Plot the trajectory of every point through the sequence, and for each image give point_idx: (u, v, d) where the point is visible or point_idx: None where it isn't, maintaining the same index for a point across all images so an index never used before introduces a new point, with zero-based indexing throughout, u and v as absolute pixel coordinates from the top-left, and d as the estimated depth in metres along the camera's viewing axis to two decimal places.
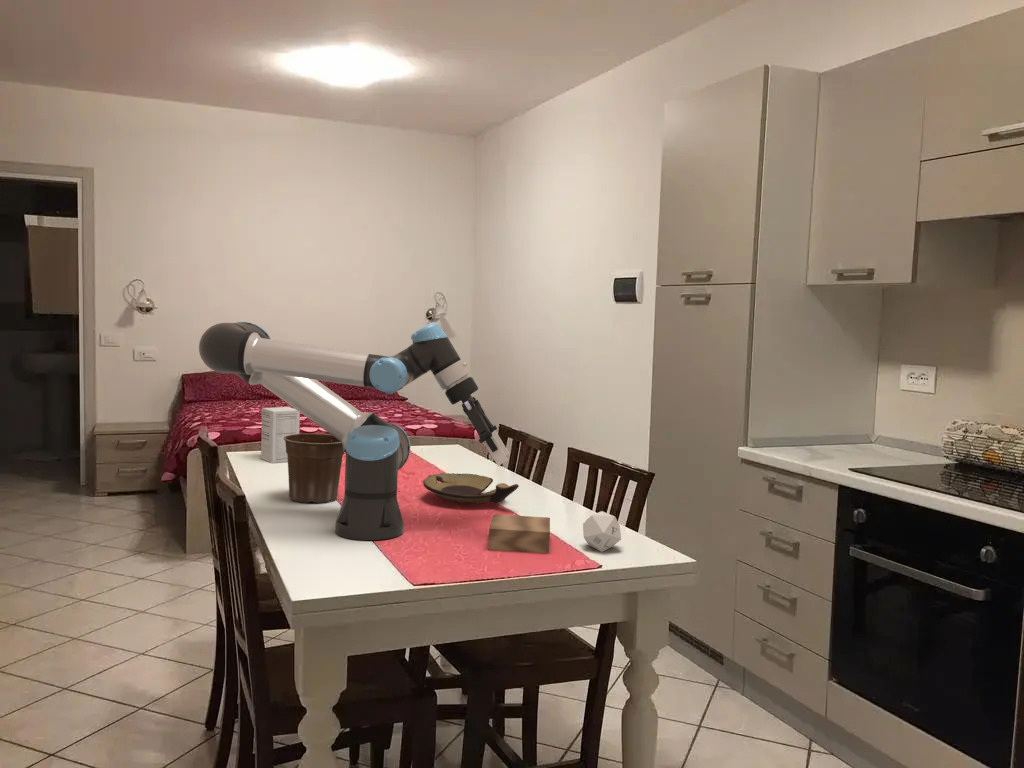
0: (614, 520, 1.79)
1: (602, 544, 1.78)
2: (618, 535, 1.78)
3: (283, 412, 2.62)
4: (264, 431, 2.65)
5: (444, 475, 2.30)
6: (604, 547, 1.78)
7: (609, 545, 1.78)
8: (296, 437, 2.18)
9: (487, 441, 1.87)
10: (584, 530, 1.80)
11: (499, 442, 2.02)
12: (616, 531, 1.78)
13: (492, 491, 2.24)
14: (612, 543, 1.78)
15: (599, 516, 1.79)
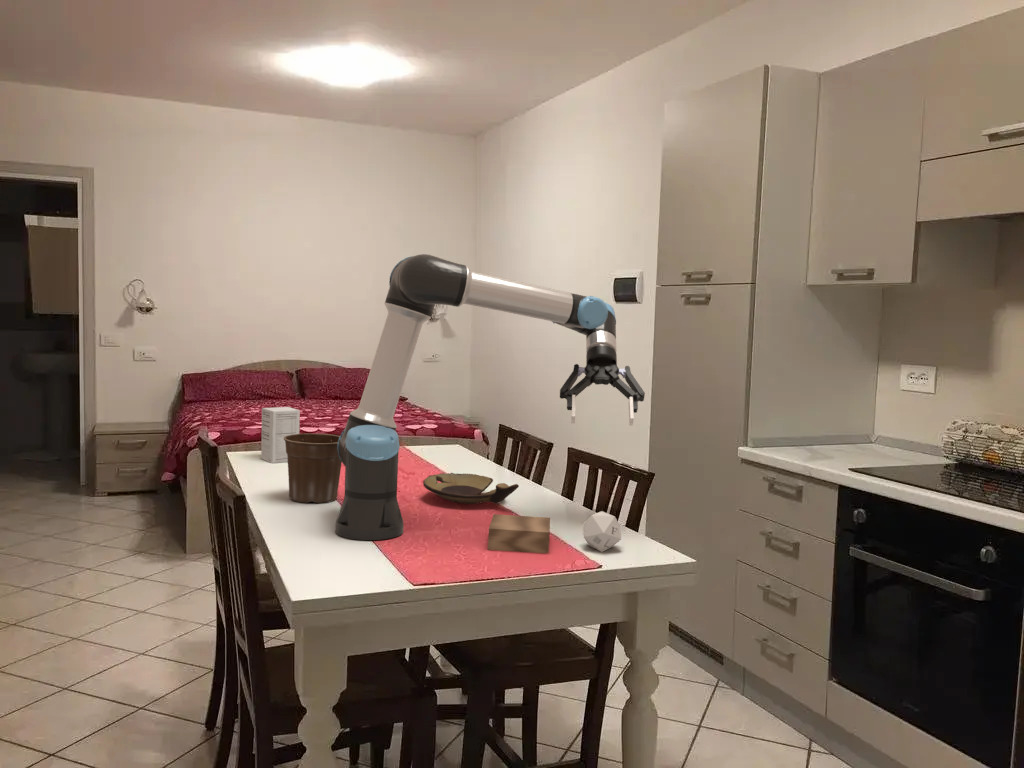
0: (614, 520, 1.79)
1: (602, 544, 1.78)
2: (618, 535, 1.78)
3: (283, 412, 2.62)
4: (264, 431, 2.65)
5: (444, 475, 2.30)
6: (604, 547, 1.78)
7: (609, 545, 1.78)
8: (296, 437, 2.18)
9: (637, 400, 1.95)
10: (584, 530, 1.80)
11: None
12: (616, 531, 1.78)
13: (492, 491, 2.24)
14: (612, 543, 1.78)
15: (599, 516, 1.79)
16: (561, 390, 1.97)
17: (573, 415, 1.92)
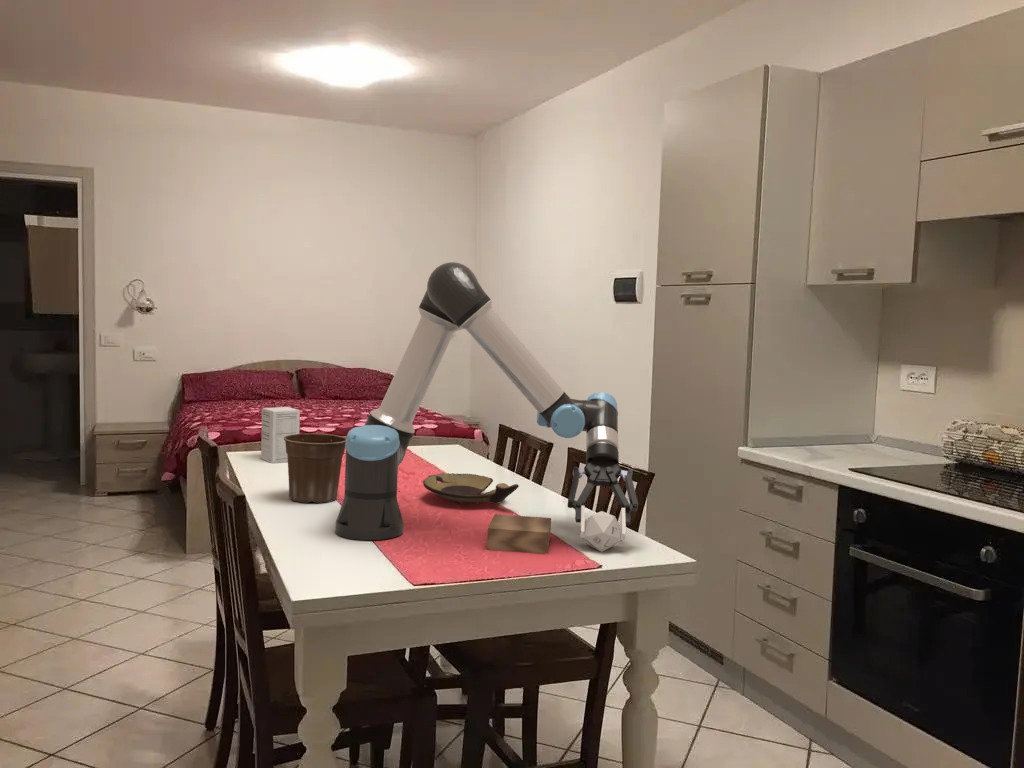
0: (614, 520, 1.79)
1: (602, 544, 1.78)
2: (618, 535, 1.78)
3: (283, 412, 2.62)
4: (264, 431, 2.65)
5: (444, 475, 2.30)
6: (604, 547, 1.78)
7: (609, 545, 1.78)
8: (296, 437, 2.18)
9: (630, 511, 1.81)
10: None
11: None
12: (616, 531, 1.78)
13: (492, 491, 2.24)
14: (612, 543, 1.78)
15: (599, 516, 1.79)
16: (569, 500, 1.82)
17: (582, 530, 1.77)
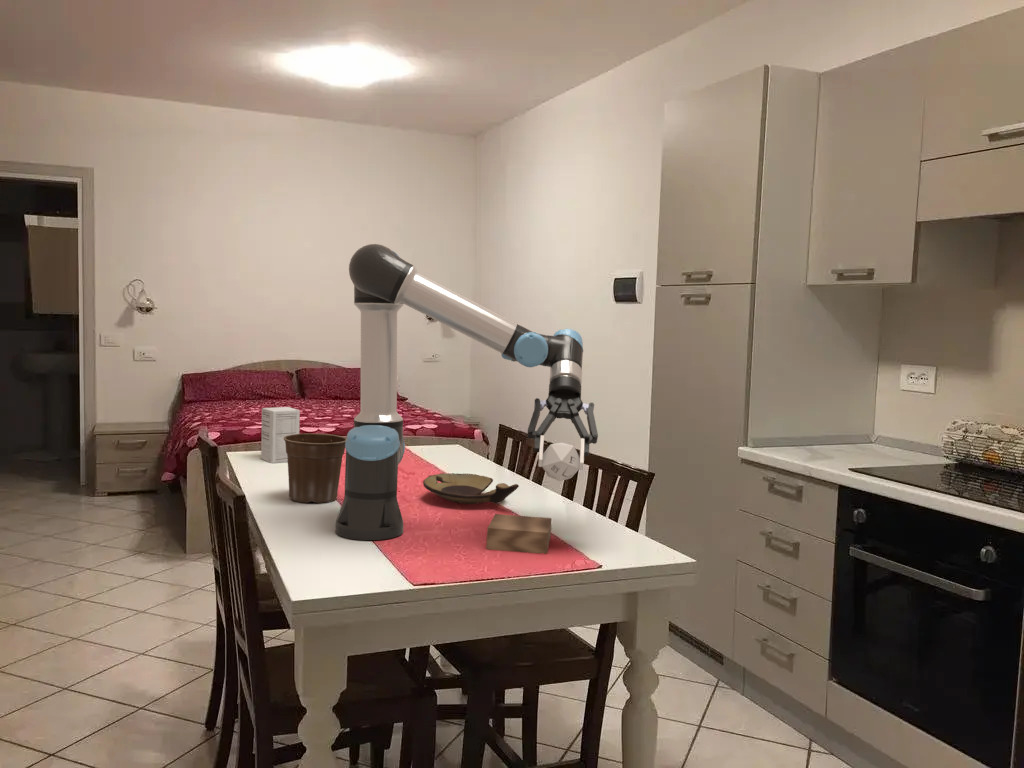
0: (573, 449, 1.78)
1: (560, 473, 1.77)
2: (576, 464, 1.78)
3: (283, 412, 2.62)
4: (264, 431, 2.65)
5: (444, 475, 2.30)
6: (562, 476, 1.77)
7: (567, 474, 1.78)
8: (296, 437, 2.18)
9: (589, 442, 1.80)
10: (543, 459, 1.79)
11: None
12: (574, 460, 1.78)
13: (492, 491, 2.24)
14: (570, 472, 1.78)
15: (558, 445, 1.78)
16: (529, 430, 1.81)
17: (540, 458, 1.76)
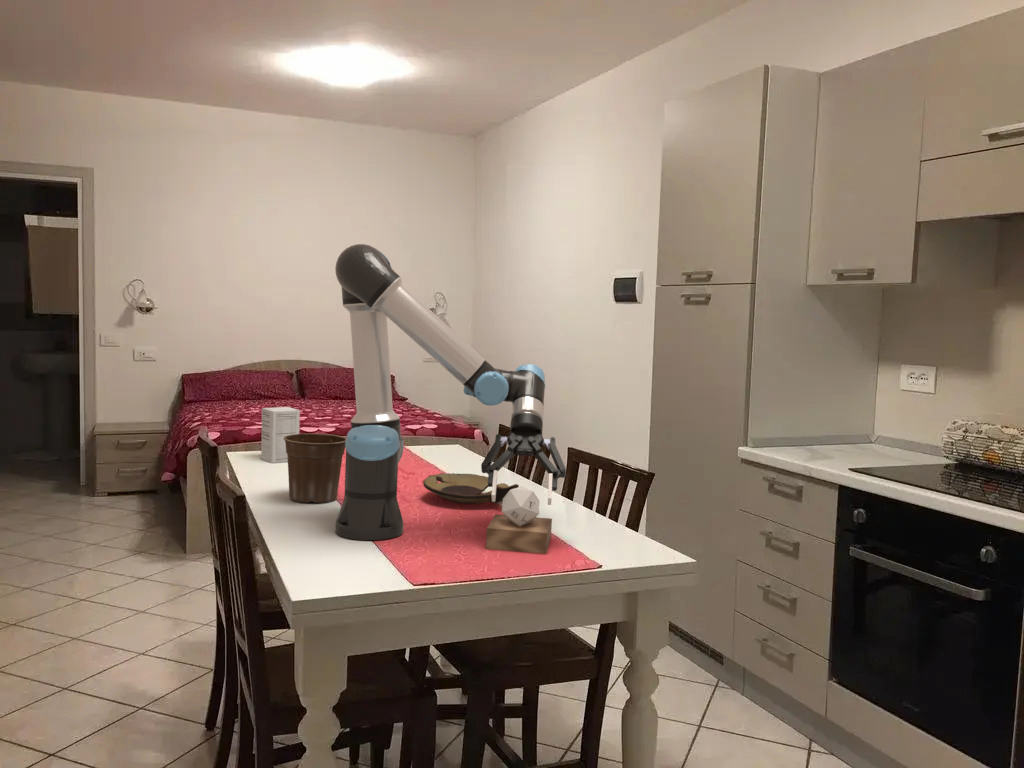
0: (532, 494, 1.79)
1: (520, 518, 1.78)
2: (536, 509, 1.79)
3: (283, 412, 2.62)
4: (264, 431, 2.65)
5: (444, 475, 2.30)
6: (522, 521, 1.79)
7: (527, 519, 1.79)
8: (296, 437, 2.18)
9: (557, 477, 1.82)
10: (503, 505, 1.80)
11: (496, 486, 1.82)
12: (534, 505, 1.79)
13: None
14: (530, 517, 1.79)
15: (517, 491, 1.80)
16: (482, 465, 1.83)
17: (493, 494, 1.78)
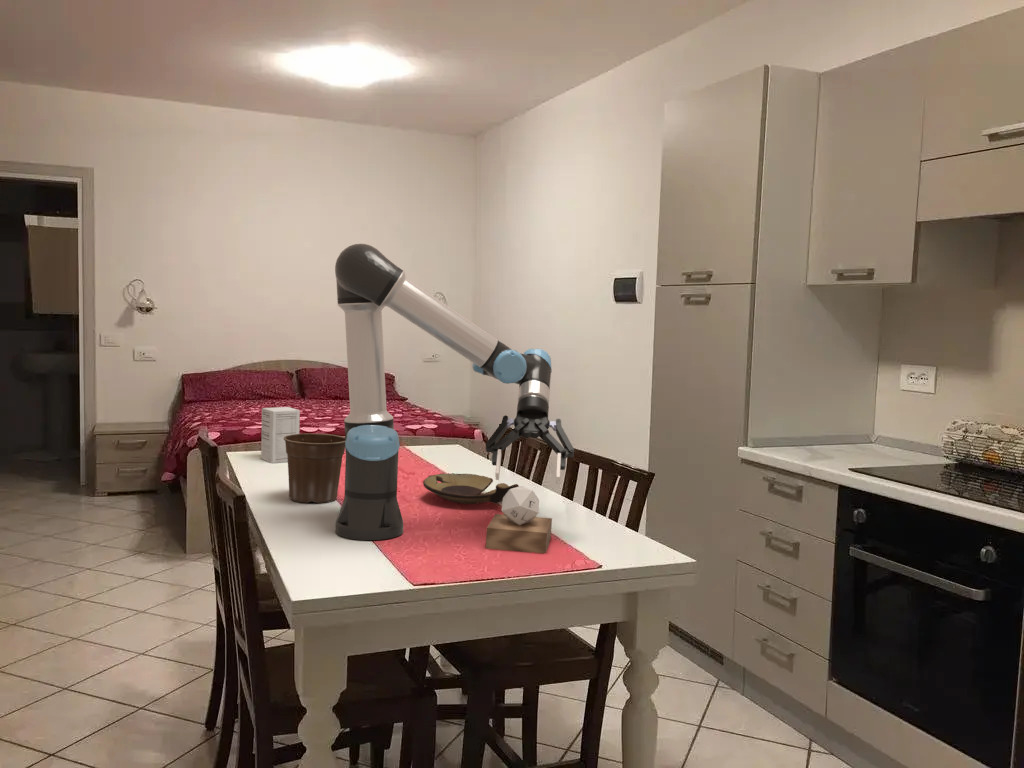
0: (532, 494, 1.80)
1: (519, 517, 1.79)
2: (535, 509, 1.80)
3: (283, 412, 2.62)
4: (264, 431, 2.65)
5: (444, 476, 2.30)
6: (521, 520, 1.79)
7: (526, 518, 1.79)
8: (296, 437, 2.18)
9: (565, 457, 1.87)
10: (502, 504, 1.81)
11: None
12: (533, 505, 1.79)
13: (492, 491, 2.24)
14: (529, 516, 1.79)
15: (517, 490, 1.80)
16: (487, 444, 1.88)
17: (497, 472, 1.83)
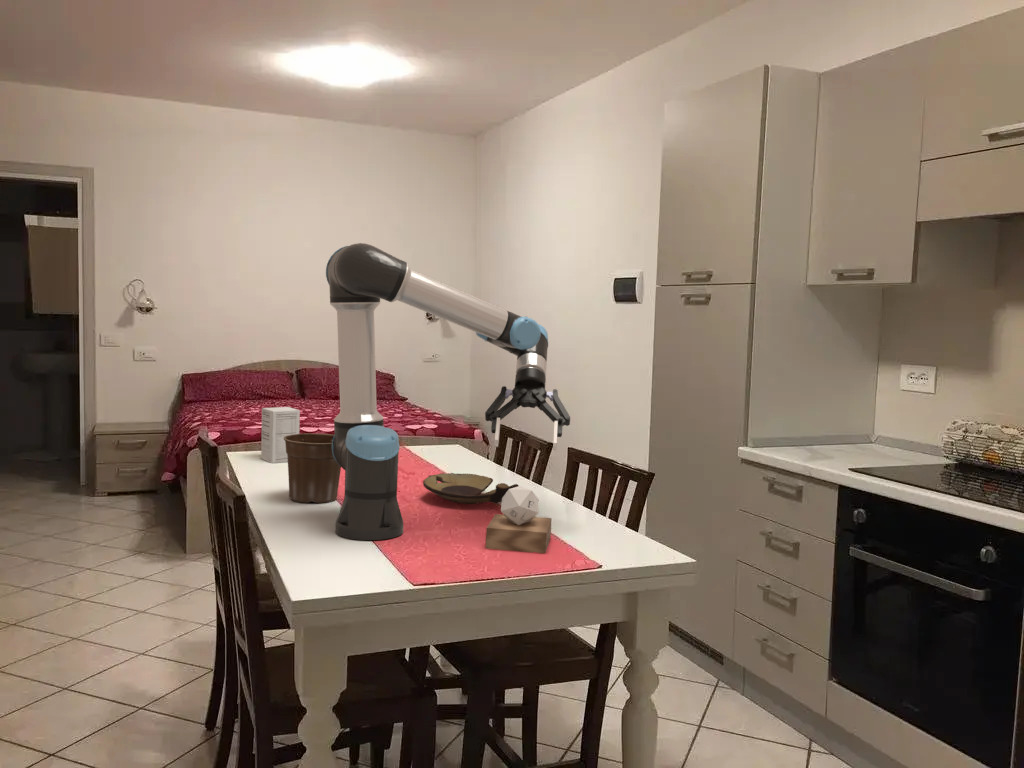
0: (531, 494, 1.80)
1: (518, 517, 1.79)
2: (535, 508, 1.80)
3: (283, 412, 2.62)
4: (264, 431, 2.65)
5: (444, 475, 2.30)
6: (521, 520, 1.79)
7: (526, 518, 1.80)
8: (296, 437, 2.18)
9: (562, 424, 1.94)
10: (502, 504, 1.81)
11: None
12: (533, 504, 1.80)
13: (492, 491, 2.24)
14: (529, 516, 1.80)
15: (516, 490, 1.80)
16: (486, 413, 1.95)
17: (496, 438, 1.90)
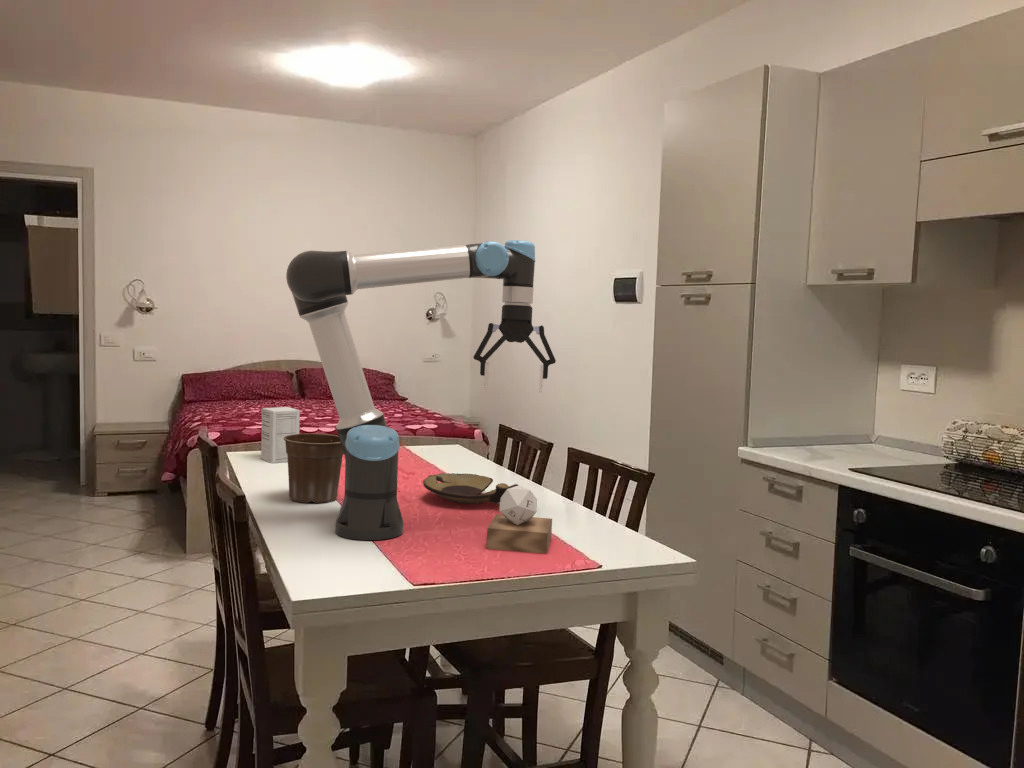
0: (529, 493, 1.80)
1: (517, 517, 1.79)
2: (533, 508, 1.80)
3: (283, 412, 2.62)
4: (264, 431, 2.65)
5: (444, 475, 2.30)
6: (519, 520, 1.80)
7: (524, 518, 1.80)
8: (296, 437, 2.18)
9: None
10: (500, 504, 1.82)
11: None
12: (531, 504, 1.80)
13: (492, 491, 2.24)
14: (527, 516, 1.80)
15: (514, 490, 1.81)
16: (474, 357, 2.02)
17: (485, 388, 2.02)
